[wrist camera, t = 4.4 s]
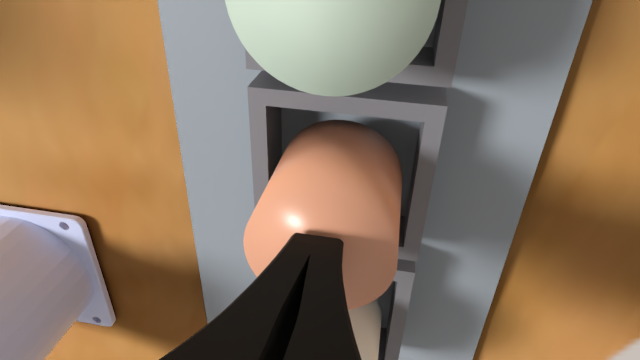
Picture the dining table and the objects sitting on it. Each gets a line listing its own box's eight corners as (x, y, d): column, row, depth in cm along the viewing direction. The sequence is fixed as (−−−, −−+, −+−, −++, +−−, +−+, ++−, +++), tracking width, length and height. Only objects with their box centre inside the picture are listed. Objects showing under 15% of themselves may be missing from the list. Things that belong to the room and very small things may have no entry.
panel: (212, 320, 26) (193, 359, 24) (128, -258, 13) (69, -288, 11) (466, 363, 24) (471, 411, 22) (671, -263, 11) (734, -301, 9)
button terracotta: (282, 215, 18) (247, 298, 14) (280, 113, 16) (238, 181, 12) (394, 231, 17) (388, 321, 14) (410, 127, 15) (407, 202, 11)
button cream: (284, 332, 22) (257, 421, 18) (283, 264, 19) (252, 351, 16) (376, 348, 21) (367, 444, 17) (387, 280, 19) (379, 374, 15)
